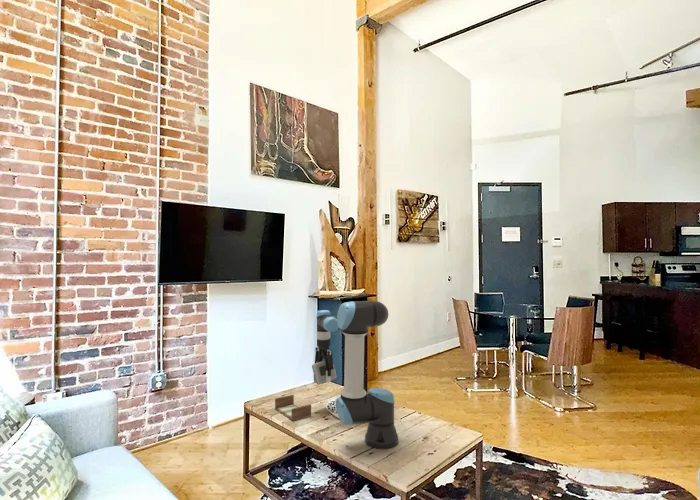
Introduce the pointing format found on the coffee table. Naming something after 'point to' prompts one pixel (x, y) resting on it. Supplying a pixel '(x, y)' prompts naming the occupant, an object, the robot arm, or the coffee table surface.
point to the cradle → (291, 408)
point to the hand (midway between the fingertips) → (323, 380)
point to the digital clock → (322, 372)
